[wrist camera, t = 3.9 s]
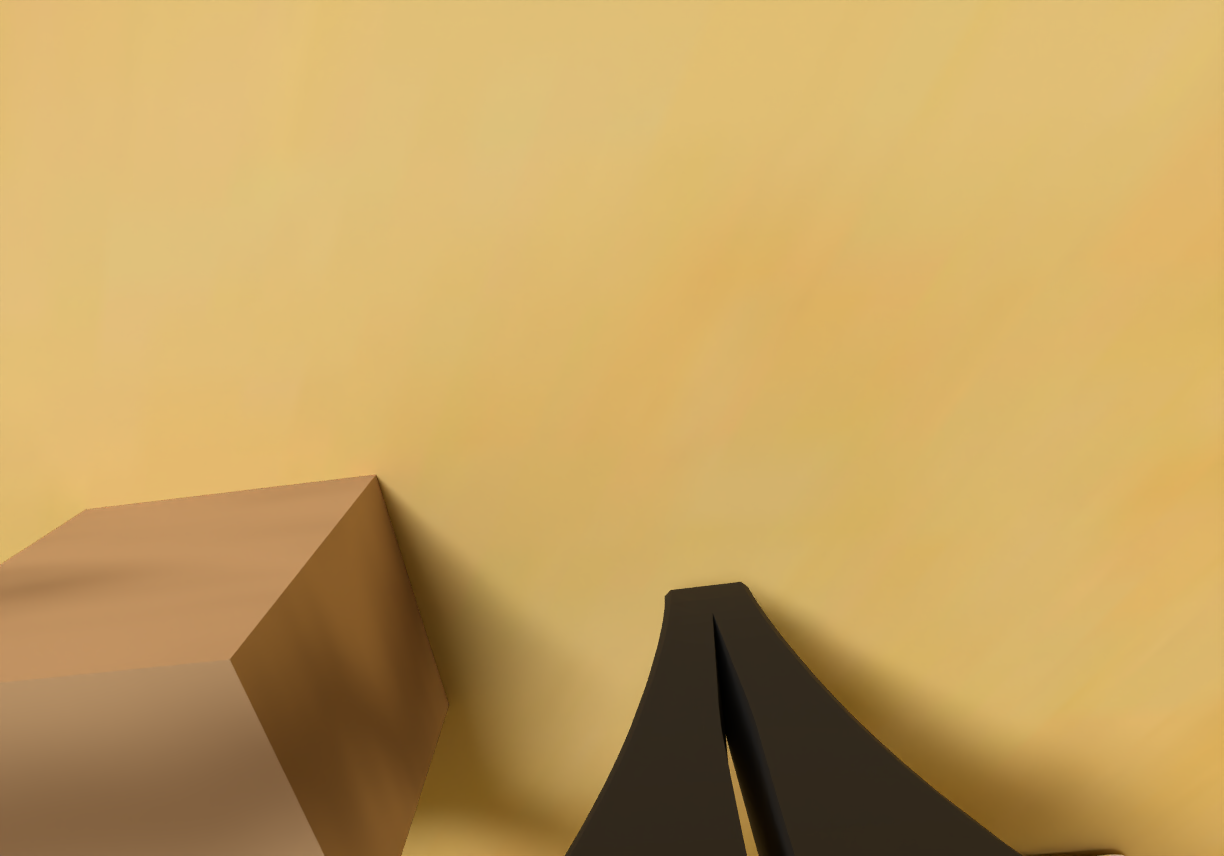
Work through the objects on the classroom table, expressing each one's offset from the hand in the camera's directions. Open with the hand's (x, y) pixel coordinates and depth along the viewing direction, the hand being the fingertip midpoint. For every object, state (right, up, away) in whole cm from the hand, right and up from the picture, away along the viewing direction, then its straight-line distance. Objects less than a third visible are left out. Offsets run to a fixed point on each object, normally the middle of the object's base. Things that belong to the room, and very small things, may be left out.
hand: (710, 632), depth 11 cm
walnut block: (-9, 0, +3) cm, 9 cm away
